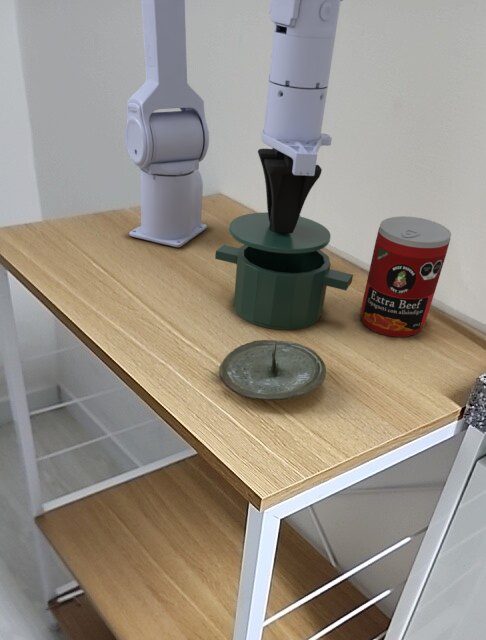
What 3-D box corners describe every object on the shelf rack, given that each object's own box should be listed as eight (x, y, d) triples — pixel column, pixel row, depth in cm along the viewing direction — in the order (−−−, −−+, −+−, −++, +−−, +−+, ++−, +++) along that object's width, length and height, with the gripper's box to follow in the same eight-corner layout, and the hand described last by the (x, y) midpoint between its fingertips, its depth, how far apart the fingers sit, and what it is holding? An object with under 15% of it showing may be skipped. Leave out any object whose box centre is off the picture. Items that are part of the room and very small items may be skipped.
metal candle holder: (337, 404, 64) (352, 357, 62) (275, 418, 57) (290, 365, 55) (260, 365, 70) (271, 320, 67) (195, 373, 63) (205, 323, 60)
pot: (233, 278, 82) (237, 227, 78) (352, 308, 78) (363, 256, 74) (198, 310, 74) (200, 255, 70) (328, 344, 70) (339, 289, 66)
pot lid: (250, 215, 77) (254, 174, 74) (340, 234, 74) (348, 193, 71) (212, 244, 68) (214, 199, 65) (311, 267, 66) (318, 222, 63)
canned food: (352, 329, 74) (373, 232, 66) (366, 302, 79) (386, 210, 72) (419, 344, 72) (448, 247, 65) (427, 315, 78) (455, 224, 71)
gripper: (358, 101, 56) (331, 253, 65) (321, 72, 67) (302, 206, 76) (280, 96, 55) (263, 251, 64) (255, 68, 66) (244, 204, 75)
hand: (280, 227), depth 70 cm, fingers closed on pot lid, 2 cm apart
